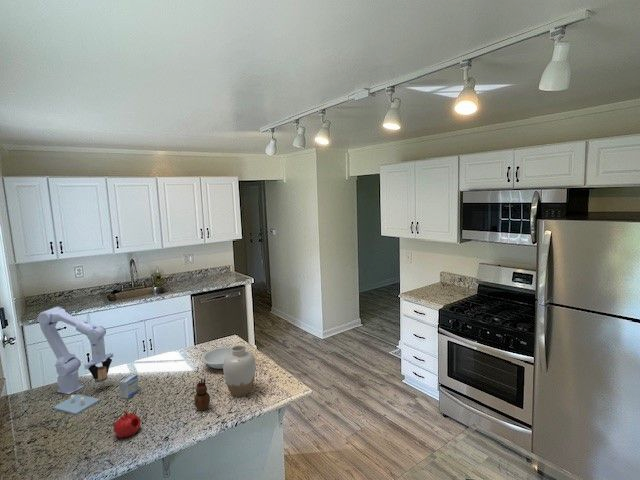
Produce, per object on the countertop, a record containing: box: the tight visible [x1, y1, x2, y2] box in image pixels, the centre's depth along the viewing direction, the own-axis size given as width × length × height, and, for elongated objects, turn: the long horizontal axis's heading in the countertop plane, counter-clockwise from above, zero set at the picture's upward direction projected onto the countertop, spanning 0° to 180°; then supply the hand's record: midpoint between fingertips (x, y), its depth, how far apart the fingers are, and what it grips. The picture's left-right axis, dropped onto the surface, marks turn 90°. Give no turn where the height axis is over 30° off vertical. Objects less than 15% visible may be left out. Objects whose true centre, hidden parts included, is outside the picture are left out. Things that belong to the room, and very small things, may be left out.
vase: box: [222, 344, 257, 398], centre depth 175 cm, size 16×16×23 cm
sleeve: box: [94, 365, 109, 383], centre depth 181 cm, size 5×5×6 cm
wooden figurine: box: [193, 377, 211, 411], centre depth 162 cm, size 7×6×15 cm
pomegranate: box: [113, 410, 142, 438], centre depth 146 cm, size 10×10×9 cm
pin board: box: [52, 393, 101, 416], centre depth 168 cm, size 16×12×4 cm
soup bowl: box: [201, 345, 235, 370], centre depth 205 cm, size 24×24×7 cm
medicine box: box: [118, 374, 140, 399], centre depth 176 cm, size 8×4×9 cm, turn 168°
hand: (100, 375), depth 181 cm, fingers closed on sleeve, 5 cm apart
